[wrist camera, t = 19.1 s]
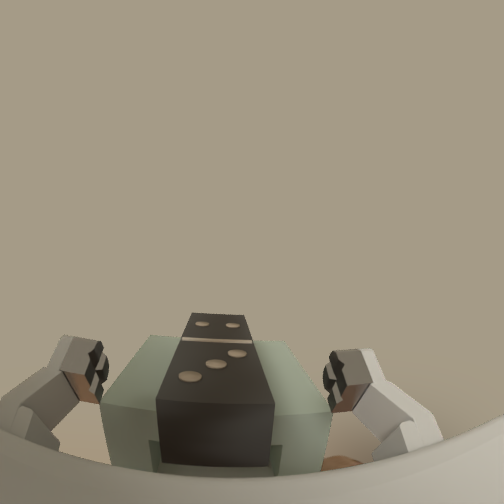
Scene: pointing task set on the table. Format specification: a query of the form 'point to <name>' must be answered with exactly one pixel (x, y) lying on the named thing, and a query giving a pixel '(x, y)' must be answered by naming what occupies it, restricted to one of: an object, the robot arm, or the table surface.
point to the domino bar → (215, 397)
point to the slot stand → (149, 459)
